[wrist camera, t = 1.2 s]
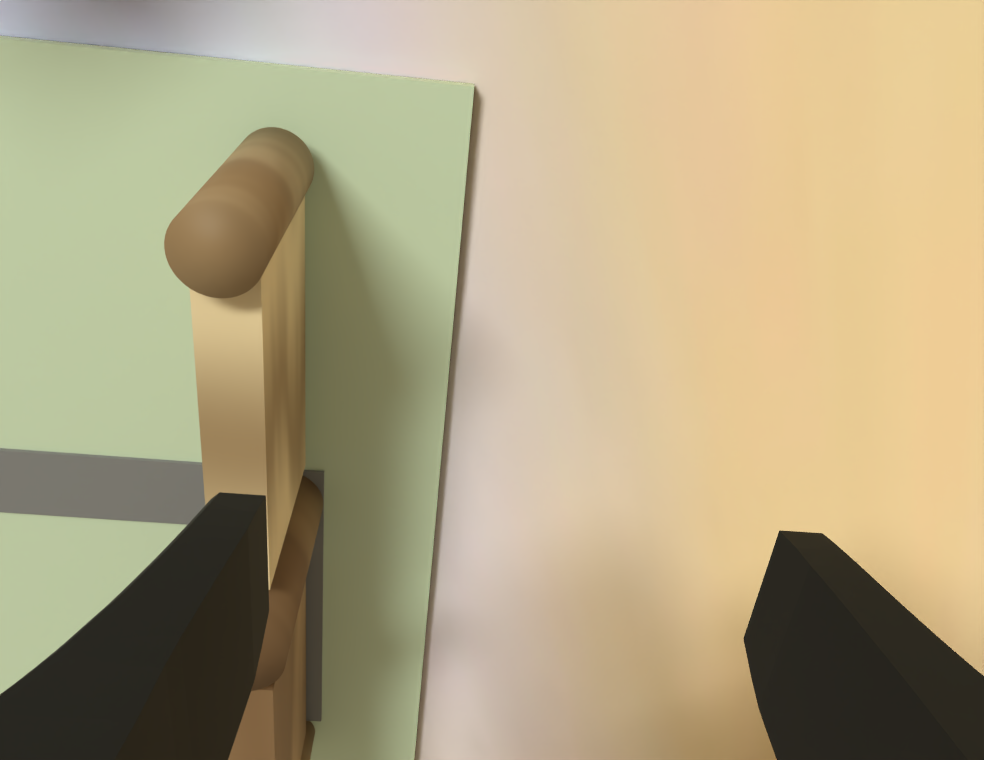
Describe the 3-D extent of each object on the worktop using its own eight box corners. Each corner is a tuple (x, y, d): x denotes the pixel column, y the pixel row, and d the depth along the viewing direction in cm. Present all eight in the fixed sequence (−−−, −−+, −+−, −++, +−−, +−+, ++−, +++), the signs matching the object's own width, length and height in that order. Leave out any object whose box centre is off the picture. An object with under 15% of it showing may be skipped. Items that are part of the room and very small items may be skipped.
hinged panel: (313, 465, 22) (274, 607, 18) (249, 461, 22) (194, 603, 18) (314, 131, 18) (264, 208, 14) (235, 123, 18) (160, 199, 14)
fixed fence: (260, 737, 28) (214, 922, 23) (248, 458, 23) (186, 621, 18) (322, 740, 28) (290, 925, 23) (326, 464, 23) (285, 626, 18)
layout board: (9, 747, 28) (3, 758, 28) (-174, 17, 18) (-187, 20, 17) (413, 767, 29) (412, 777, 29) (473, 83, 18) (474, 87, 18)
